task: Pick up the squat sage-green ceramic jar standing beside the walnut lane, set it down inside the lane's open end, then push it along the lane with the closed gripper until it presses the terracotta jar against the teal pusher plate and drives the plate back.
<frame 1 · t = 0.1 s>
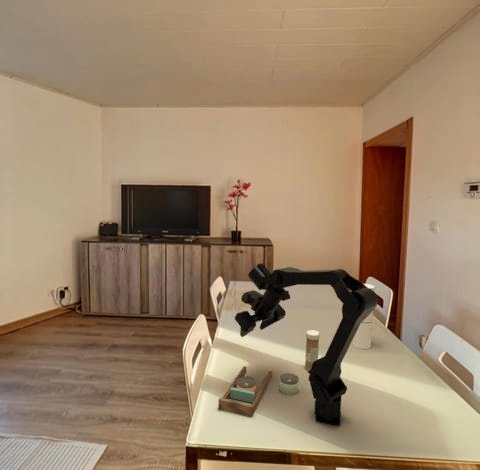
hand: (251, 332, 119), 15 cm above the table, tool tilted 30°, fingers open, 9 cm apart
lane: (248, 389, 111), on the table
pusher: (242, 395, 105), point 2 cm above the table, slide at 0.0 cm
sprinkles bottle: (311, 369, 125), on the table
terracotta jar: (246, 393, 109), on the table
green jar: (288, 389, 111), on the table
cylindrical container: (361, 345, 145), on the table
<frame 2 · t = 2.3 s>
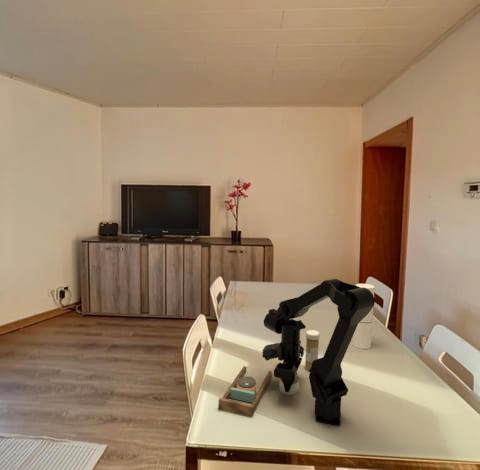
hand: (288, 386, 111), 1 cm above the table, tool pointing down, fingers closed on green jar, 6 cm apart
green jar: (288, 389, 111), on the table, touching gripper
everything else where it was.
when the fingers open (2 cm above the table, at t = 6.4 s): green jar drops 1 cm, on the table.
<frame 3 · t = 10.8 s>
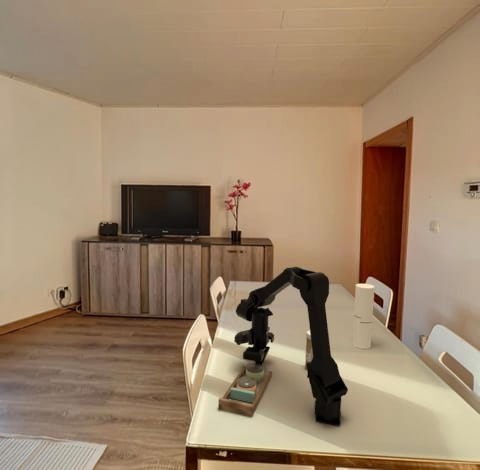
hand: (258, 368, 122), 1 cm above the table, tool pointing down, fingers closed
green jar: (254, 378, 118), on the table, touching gripper
everything else where it was.
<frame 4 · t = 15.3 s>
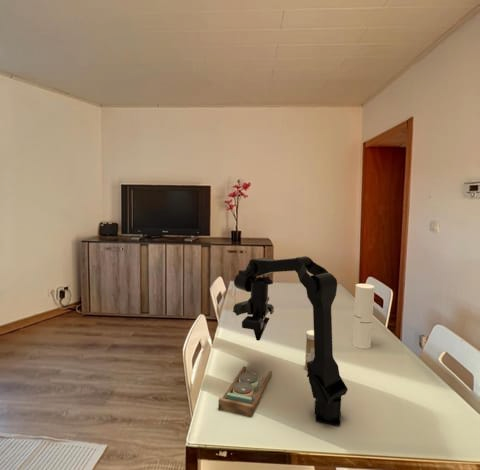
hand: (258, 340, 119), 12 cm above the table, tool pointing down, fingers closed
pusher: (239, 400, 102), point 2 cm above the table, slide at 3.0 cm
terracotta jar: (242, 399, 106), on the table
green jar: (248, 388, 112), on the table
everything else where it was.
at the end: green jar 0.4 cm from the target spot on the lane, point 0.0 cm above the lane's base; pusher slide at 3.0 cm; green jar tilted 0° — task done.
